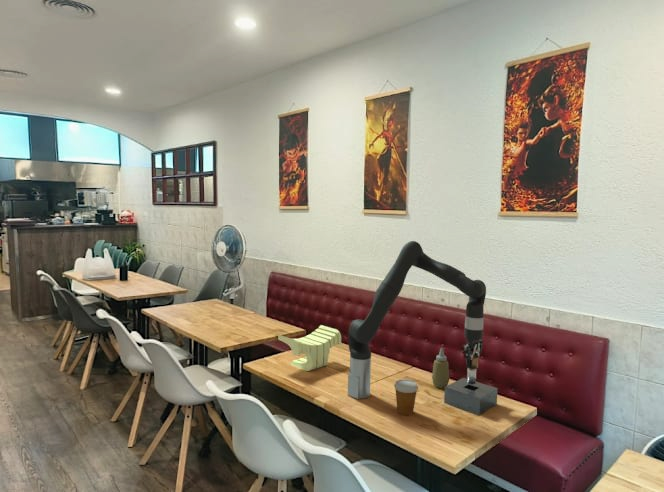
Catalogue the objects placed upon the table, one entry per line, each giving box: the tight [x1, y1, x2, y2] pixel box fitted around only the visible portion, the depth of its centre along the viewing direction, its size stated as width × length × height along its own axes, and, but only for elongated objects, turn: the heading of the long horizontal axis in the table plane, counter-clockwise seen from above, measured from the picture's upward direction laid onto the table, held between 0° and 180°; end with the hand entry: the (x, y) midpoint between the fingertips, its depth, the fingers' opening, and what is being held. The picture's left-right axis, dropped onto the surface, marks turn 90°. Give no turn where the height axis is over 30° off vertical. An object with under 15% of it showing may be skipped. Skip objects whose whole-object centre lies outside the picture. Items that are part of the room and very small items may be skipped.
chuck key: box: [465, 355, 479, 384], centre depth 186 cm, size 5×5×11 cm
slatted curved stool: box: [277, 324, 342, 372], centre depth 228 cm, size 30×16×18 cm, turn 135°
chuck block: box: [443, 377, 499, 416], centre depth 186 cm, size 16×16×7 cm
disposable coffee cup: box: [393, 378, 419, 416], centre depth 176 cm, size 10×10×12 cm
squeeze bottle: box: [431, 348, 450, 389], centre depth 204 cm, size 8×8×18 cm
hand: (472, 366), depth 186 cm, fingers closed on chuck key, 4 cm apart
